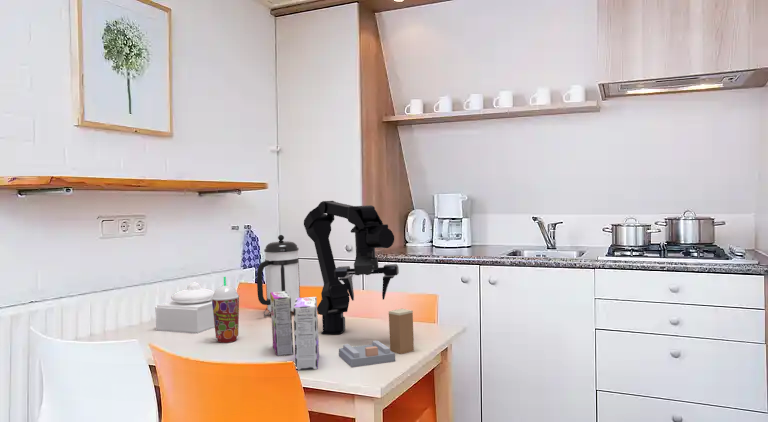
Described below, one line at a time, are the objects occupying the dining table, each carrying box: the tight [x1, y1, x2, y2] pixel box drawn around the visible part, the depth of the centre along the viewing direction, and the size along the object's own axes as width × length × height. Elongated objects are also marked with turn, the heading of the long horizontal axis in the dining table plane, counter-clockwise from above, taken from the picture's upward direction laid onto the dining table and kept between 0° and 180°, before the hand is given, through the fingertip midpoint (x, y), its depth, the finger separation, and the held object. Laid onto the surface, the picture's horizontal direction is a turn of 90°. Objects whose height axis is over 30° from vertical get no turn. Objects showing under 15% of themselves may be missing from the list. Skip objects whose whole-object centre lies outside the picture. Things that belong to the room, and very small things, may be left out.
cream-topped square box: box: [388, 308, 415, 355], centre depth 166 cm, size 4×5×11 cm
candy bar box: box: [270, 291, 294, 357], centre depth 170 cm, size 11×5×16 cm, turn 17°
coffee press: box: [256, 234, 301, 316], centre depth 222 cm, size 17×16×30 cm
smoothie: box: [211, 276, 240, 344], centre depth 185 cm, size 8×8×20 cm
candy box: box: [293, 296, 320, 371], centre depth 157 cm, size 14×6×16 cm, turn 5°
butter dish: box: [154, 281, 215, 334], centre depth 208 cm, size 18×18×16 cm
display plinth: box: [338, 340, 396, 368], centre depth 159 cm, size 12×12×4 cm
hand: (368, 299), depth 177 cm, fingers open, 9 cm apart
